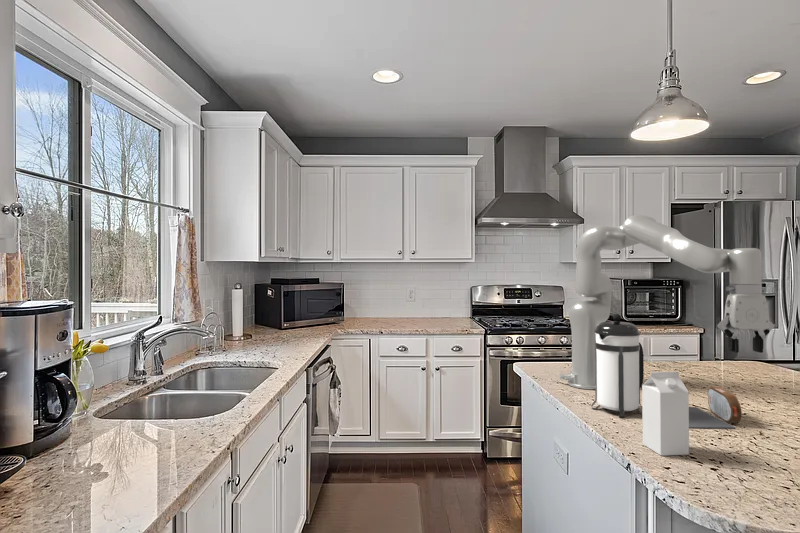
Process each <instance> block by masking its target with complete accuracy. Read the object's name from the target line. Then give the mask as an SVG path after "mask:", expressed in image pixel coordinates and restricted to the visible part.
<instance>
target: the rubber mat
mask: <svg viewBox="0 0 800 533" xmlns="http://www.w3.org/2000/svg"><path fill="white" fill-rule="evenodd" d="M689 429H703V430H704V429H706V430H708V429H709V430H710V429H712V430H714V429H717V430H718V429H719V430H723V429H724V430H736V427H735V426H734V425H731V423H727V422H725V421H724V420H722V419H721V418H719V417H717V416H714V415H712V414H710V413H708V412H707V411H704V410H702V409H701V408H698V407H697V406H689Z"/></svg>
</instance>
